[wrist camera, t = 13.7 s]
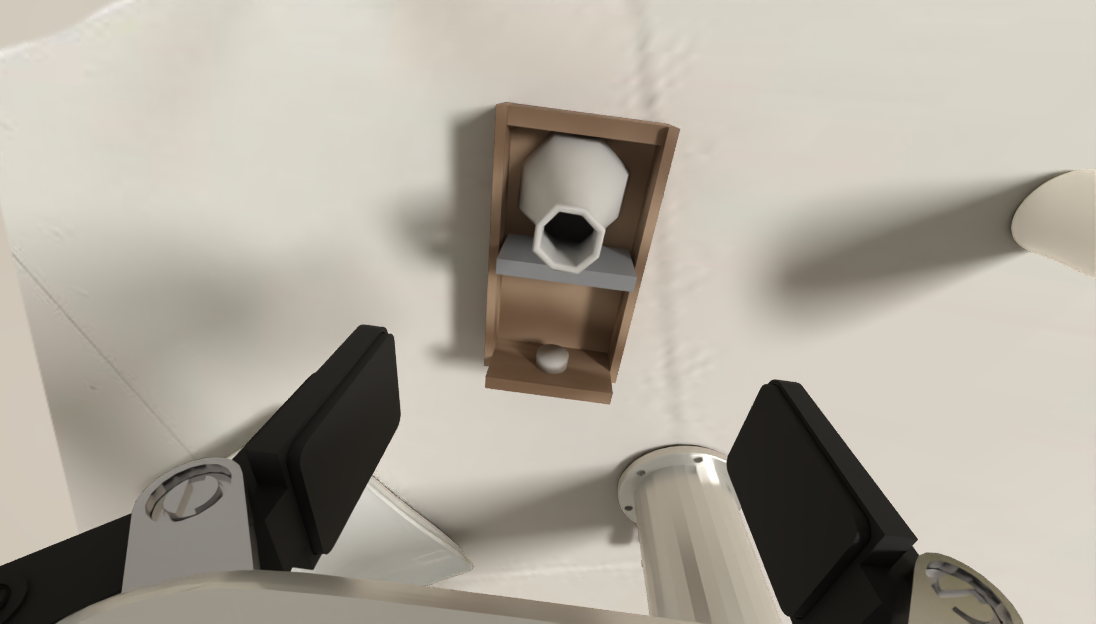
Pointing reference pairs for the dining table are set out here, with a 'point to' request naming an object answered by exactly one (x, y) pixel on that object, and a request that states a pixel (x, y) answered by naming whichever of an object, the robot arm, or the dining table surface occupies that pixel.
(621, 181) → the flask
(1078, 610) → the dining table surface
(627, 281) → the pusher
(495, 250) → the wooden tray
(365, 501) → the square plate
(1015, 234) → the drinking glass
